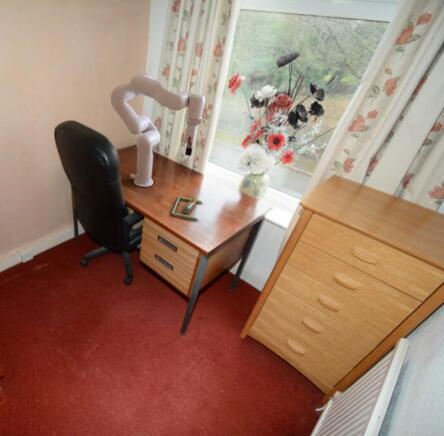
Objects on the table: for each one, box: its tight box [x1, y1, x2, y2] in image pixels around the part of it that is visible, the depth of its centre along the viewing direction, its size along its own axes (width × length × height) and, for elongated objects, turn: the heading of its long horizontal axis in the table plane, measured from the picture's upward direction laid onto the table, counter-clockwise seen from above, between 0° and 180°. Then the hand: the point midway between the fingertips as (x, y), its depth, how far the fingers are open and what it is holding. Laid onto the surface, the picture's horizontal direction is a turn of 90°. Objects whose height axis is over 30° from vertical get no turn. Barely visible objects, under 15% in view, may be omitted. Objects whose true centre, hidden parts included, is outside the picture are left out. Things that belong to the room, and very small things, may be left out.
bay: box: [170, 196, 203, 222], centre depth 151 cm, size 14×19×2 cm
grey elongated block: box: [182, 197, 198, 215], centre depth 150 cm, size 12×3×4 cm, turn 148°
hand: (188, 154), depth 150 cm, fingers closed
